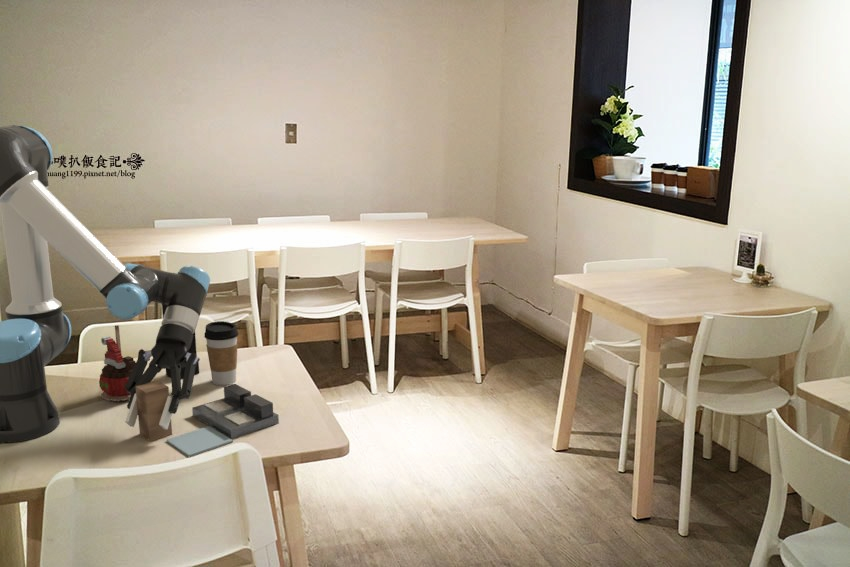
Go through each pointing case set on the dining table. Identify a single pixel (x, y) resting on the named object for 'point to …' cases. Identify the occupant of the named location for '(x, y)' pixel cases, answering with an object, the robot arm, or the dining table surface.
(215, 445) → the mat
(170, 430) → the walnut block
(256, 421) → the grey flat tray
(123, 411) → the dining table surface
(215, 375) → the coffee cup
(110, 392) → the cake
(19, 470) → the dining table surface
